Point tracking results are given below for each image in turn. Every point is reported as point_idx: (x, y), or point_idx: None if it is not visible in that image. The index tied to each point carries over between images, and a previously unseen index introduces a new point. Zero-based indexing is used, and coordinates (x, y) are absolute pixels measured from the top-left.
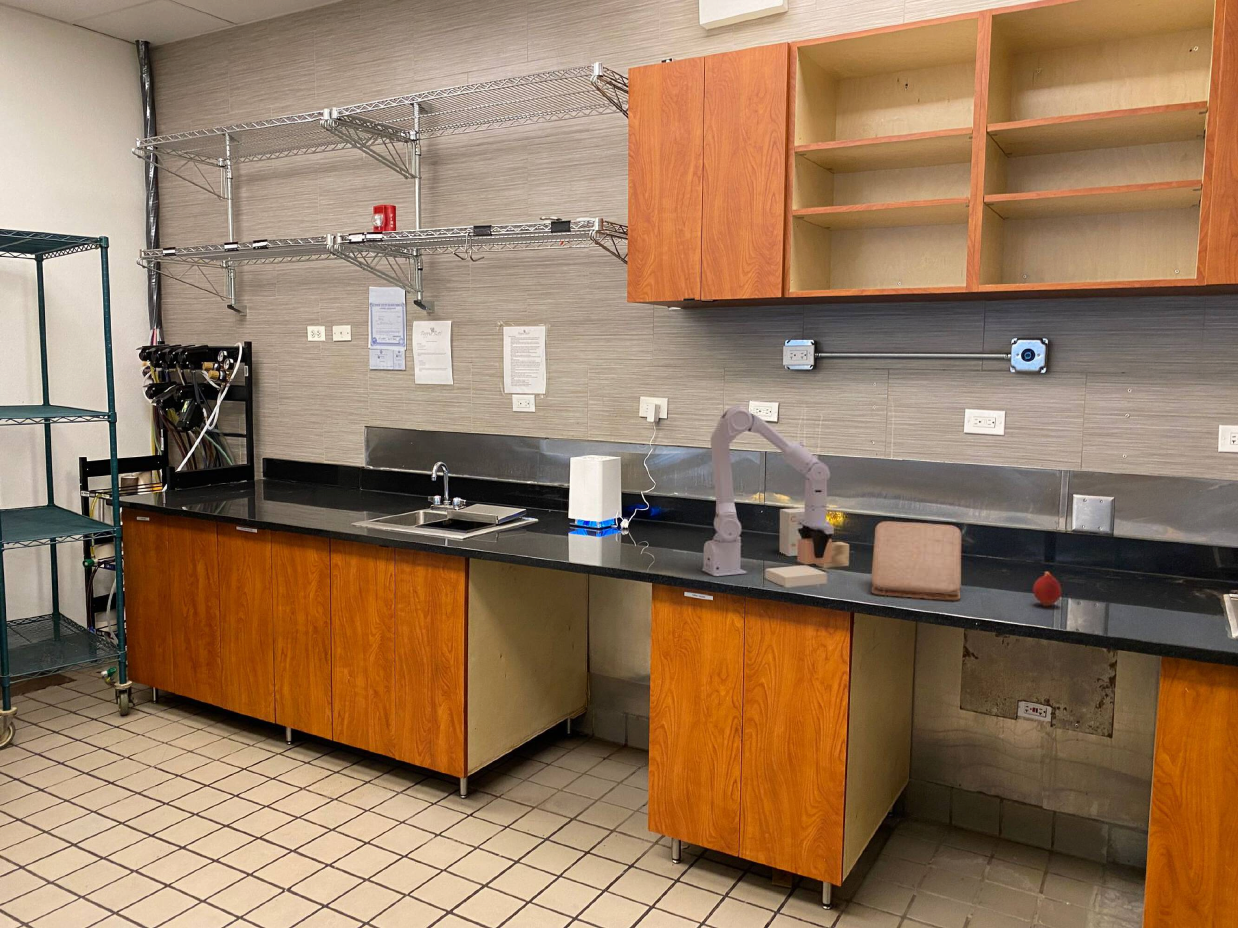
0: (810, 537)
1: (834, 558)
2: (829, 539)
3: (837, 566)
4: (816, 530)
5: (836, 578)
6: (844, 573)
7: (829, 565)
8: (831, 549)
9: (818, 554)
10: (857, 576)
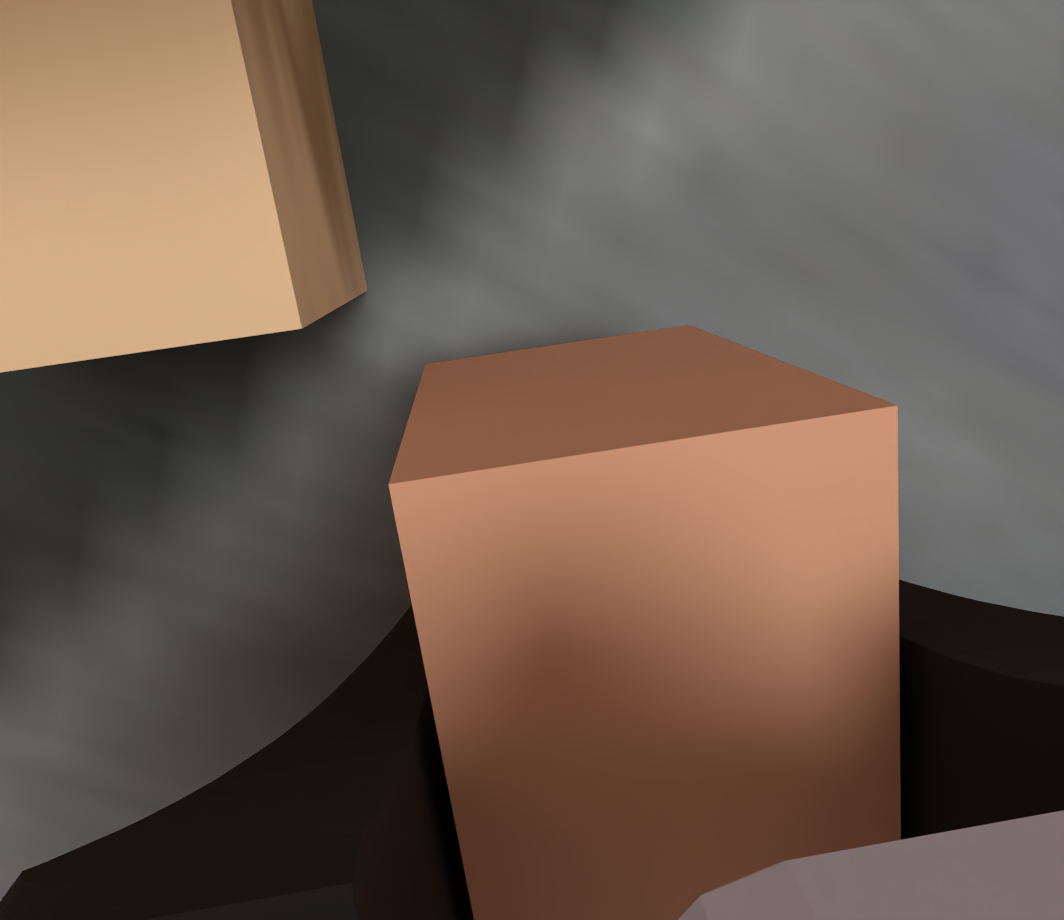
0: (448, 912)
1: (301, 57)
2: (825, 459)
3: (315, 19)
4: (399, 918)
5: (995, 404)
6: (784, 152)
7: (340, 183)
8: (775, 362)
9: None
10: (1011, 50)
